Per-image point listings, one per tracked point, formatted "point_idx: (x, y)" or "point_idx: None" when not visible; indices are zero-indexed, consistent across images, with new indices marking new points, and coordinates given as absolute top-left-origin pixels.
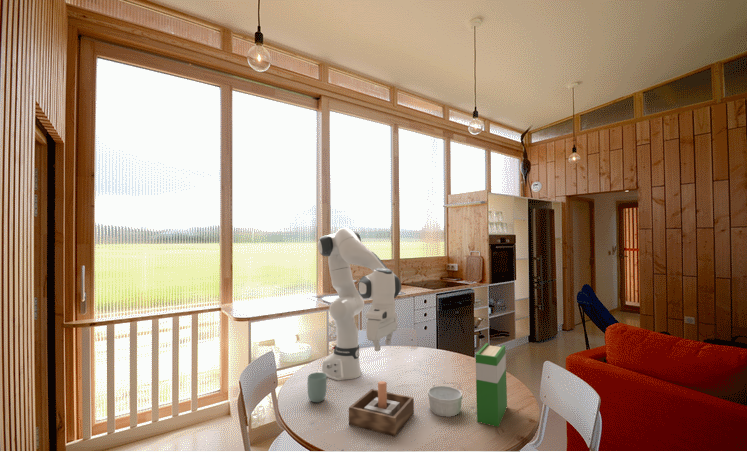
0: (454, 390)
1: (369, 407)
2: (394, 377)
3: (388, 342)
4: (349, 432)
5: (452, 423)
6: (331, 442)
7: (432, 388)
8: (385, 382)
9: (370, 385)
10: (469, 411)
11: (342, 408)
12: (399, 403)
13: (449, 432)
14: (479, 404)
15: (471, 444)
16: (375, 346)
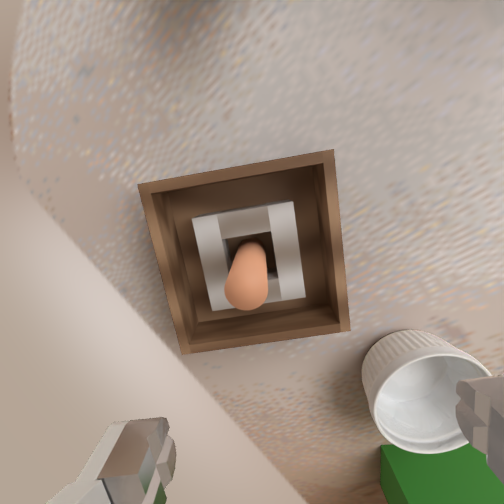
0: None
1: (206, 233)
2: None
3: (488, 439)
4: (130, 215)
5: (340, 405)
6: (61, 208)
7: (454, 356)
8: (260, 299)
9: (478, 27)
10: None
11: (229, 83)
12: (301, 297)
13: (294, 414)
14: (403, 500)
15: (275, 462)
16: (83, 488)
